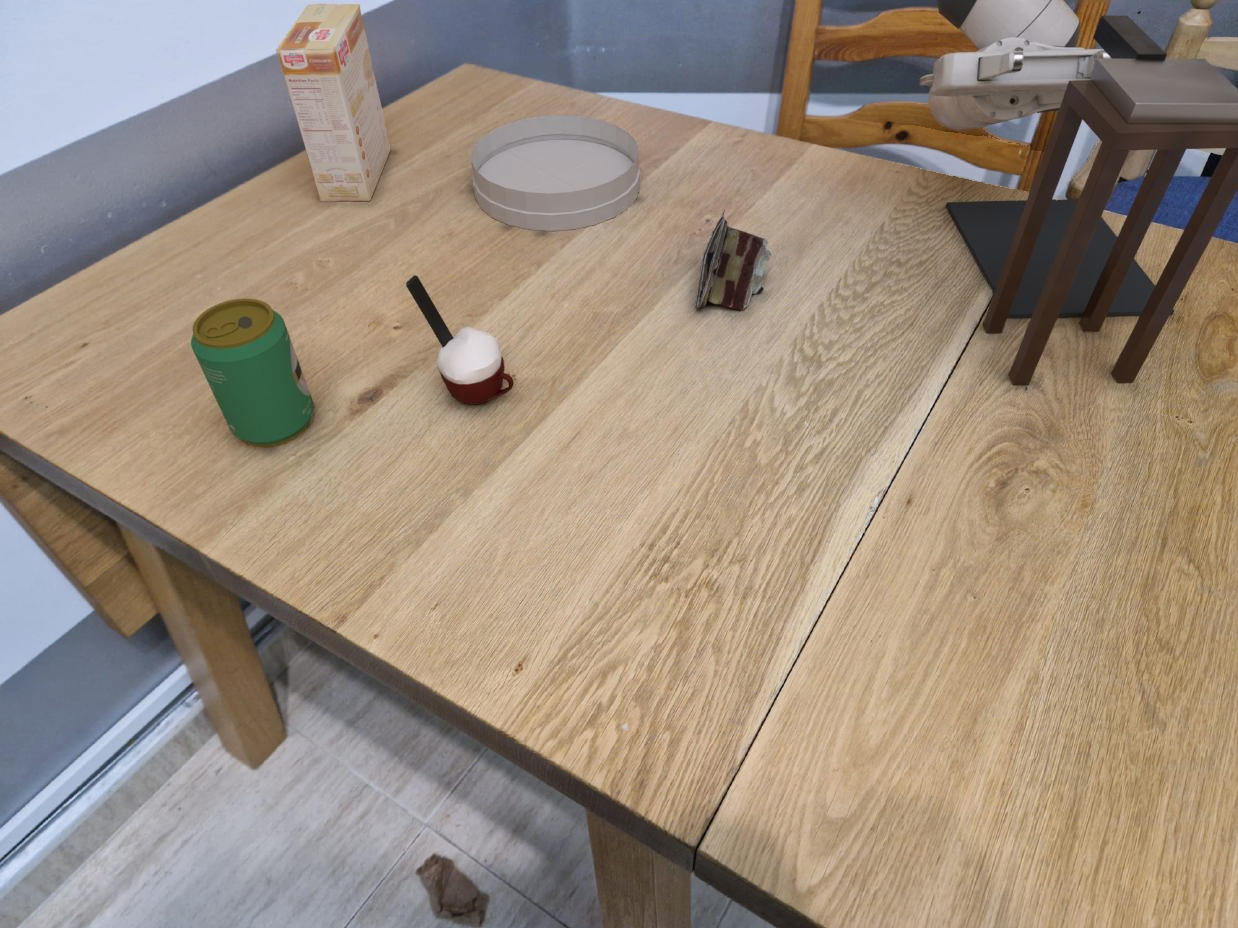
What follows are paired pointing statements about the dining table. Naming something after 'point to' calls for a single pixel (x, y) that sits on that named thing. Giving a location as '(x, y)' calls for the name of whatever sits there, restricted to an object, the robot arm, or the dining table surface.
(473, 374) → the cocoa
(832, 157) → the dining table surface
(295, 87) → the coffeecake box
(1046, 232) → the rubber mat
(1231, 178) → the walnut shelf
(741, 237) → the chocolate cake
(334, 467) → the dining table surface
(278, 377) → the beverage can
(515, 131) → the dish
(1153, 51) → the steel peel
